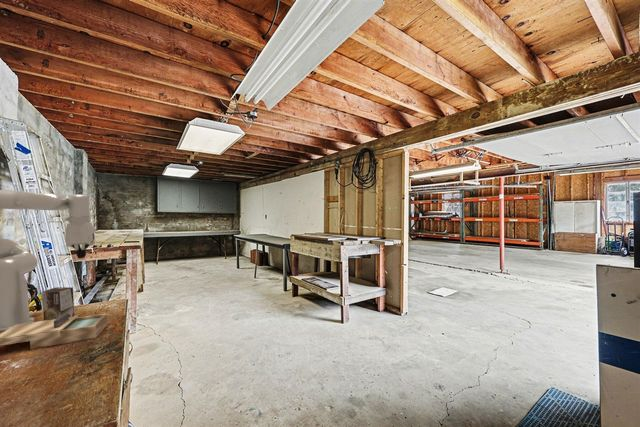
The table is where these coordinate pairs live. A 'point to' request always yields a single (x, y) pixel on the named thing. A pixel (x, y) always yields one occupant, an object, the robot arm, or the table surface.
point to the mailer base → (76, 331)
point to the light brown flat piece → (35, 330)
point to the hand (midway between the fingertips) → (81, 257)
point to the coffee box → (57, 302)
